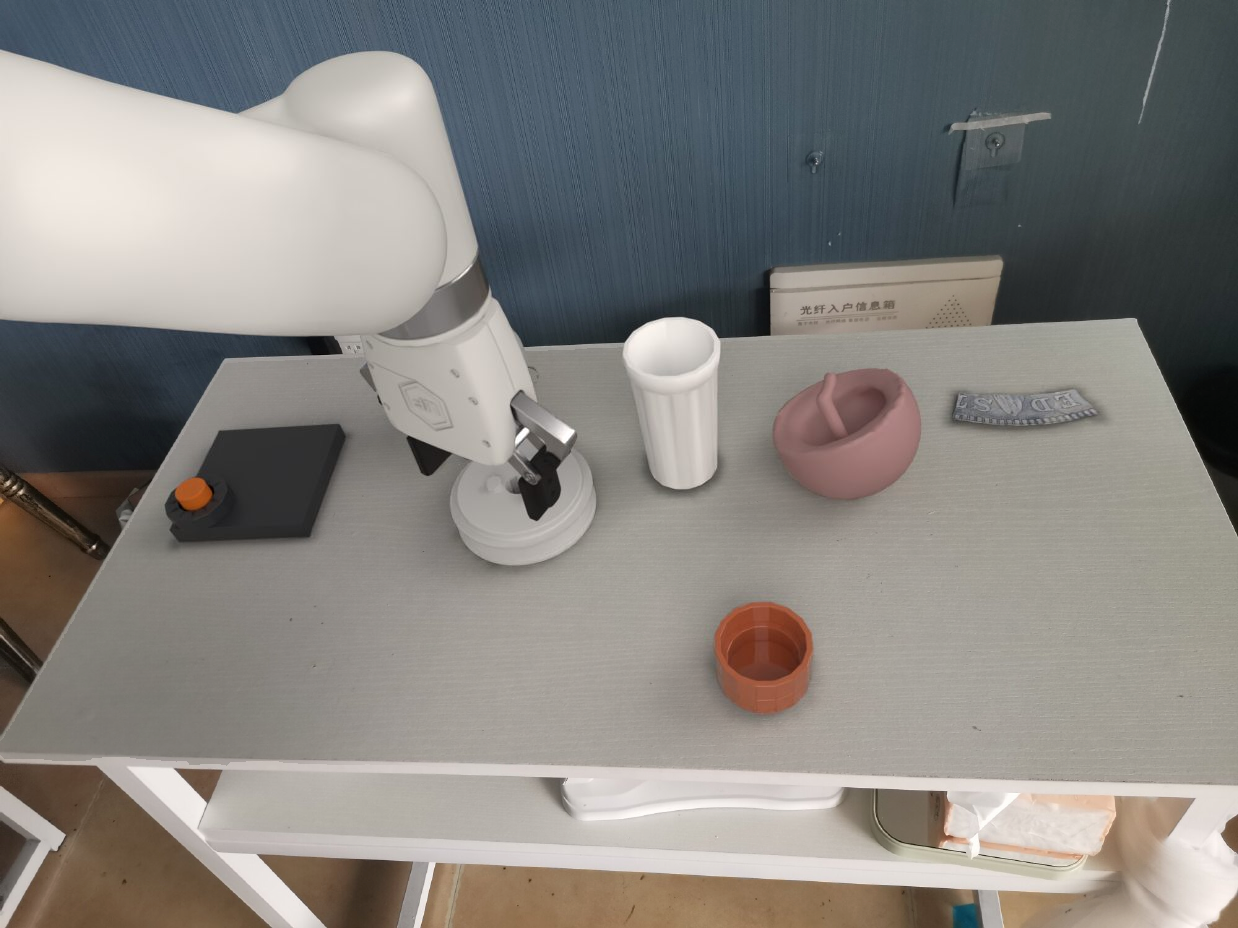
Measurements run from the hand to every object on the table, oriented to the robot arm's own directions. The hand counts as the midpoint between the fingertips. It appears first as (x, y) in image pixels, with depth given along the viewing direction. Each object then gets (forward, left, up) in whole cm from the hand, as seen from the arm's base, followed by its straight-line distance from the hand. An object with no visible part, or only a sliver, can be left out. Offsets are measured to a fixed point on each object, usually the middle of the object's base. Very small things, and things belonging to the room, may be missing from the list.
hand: (490, 483), depth 63 cm
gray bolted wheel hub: (+9, +1, -15) cm, 17 cm away
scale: (+14, +28, -14) cm, 35 cm away
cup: (+14, -13, -15) cm, 24 cm away
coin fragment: (+19, -44, -15) cm, 50 cm away
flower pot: (-7, -19, -14) cm, 25 cm away
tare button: (+10, +32, -11) cm, 36 cm away
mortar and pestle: (+12, -27, -15) cm, 33 cm away
